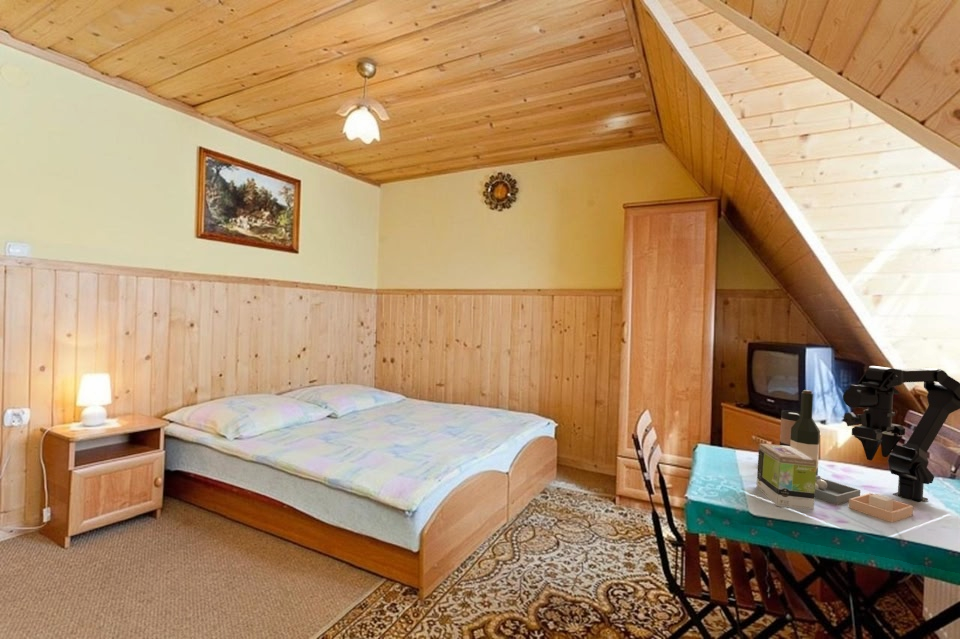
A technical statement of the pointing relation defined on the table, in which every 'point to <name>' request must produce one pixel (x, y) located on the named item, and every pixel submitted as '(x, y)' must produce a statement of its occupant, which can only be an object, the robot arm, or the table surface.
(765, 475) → the tea box
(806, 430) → the wine bottle
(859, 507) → the bin
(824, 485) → the cream glossy ball
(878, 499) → the beige cube
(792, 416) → the travel mug
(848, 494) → the bin
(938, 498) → the table surface
